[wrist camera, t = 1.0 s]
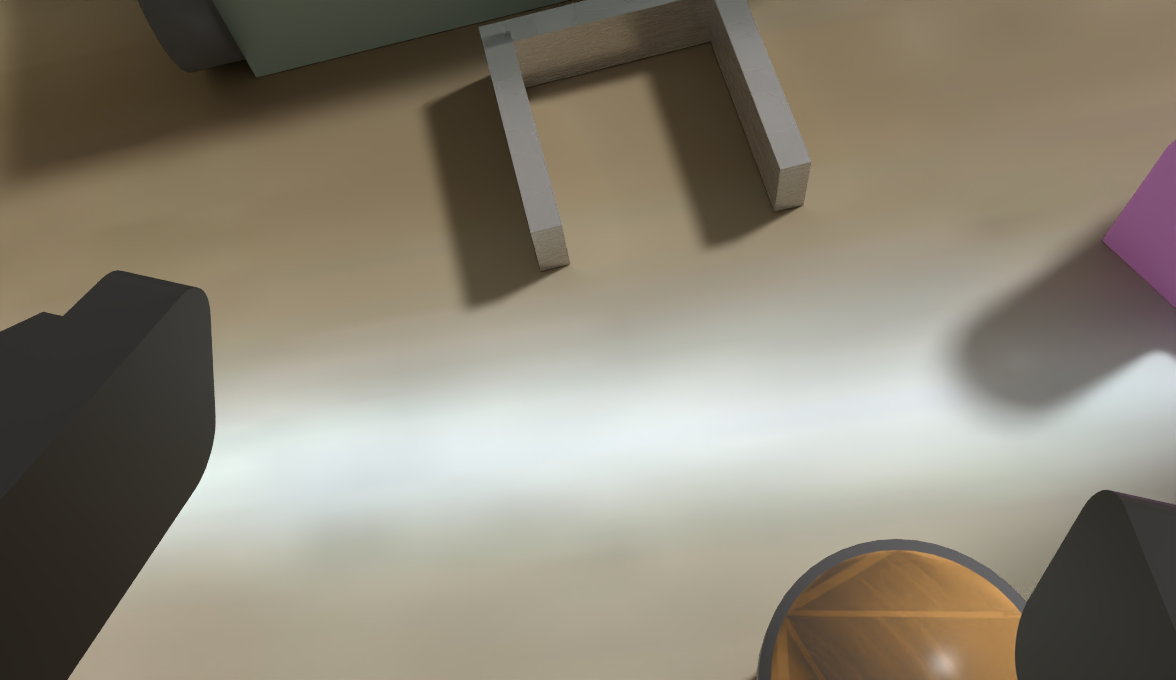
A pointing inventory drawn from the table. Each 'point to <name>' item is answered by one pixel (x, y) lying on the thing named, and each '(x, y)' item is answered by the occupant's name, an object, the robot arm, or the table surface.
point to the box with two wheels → (509, 64)
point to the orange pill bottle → (894, 618)
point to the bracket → (1151, 228)
